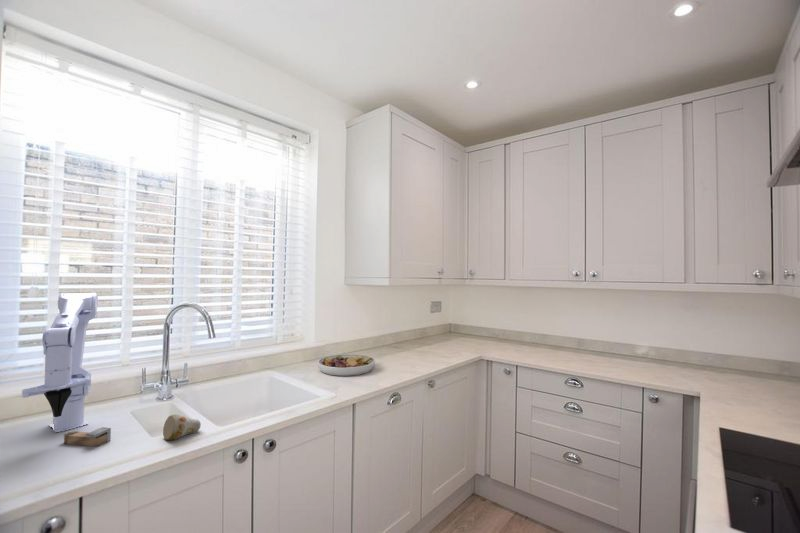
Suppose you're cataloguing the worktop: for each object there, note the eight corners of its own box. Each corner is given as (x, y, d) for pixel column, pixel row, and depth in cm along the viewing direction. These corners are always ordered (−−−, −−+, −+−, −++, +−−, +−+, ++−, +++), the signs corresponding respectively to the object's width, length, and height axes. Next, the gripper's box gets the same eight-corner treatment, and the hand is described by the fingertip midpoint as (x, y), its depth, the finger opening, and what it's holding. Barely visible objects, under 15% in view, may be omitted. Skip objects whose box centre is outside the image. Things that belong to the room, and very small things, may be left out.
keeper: (85, 447, 106) (86, 433, 106) (102, 440, 110) (102, 427, 111) (94, 448, 105) (94, 434, 105) (110, 441, 110) (110, 427, 110)
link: (61, 443, 108) (61, 433, 108) (71, 439, 111) (71, 428, 111) (97, 446, 106) (98, 435, 106) (107, 441, 109) (107, 431, 109)
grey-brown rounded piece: (207, 433, 117) (194, 411, 112) (174, 455, 111) (160, 433, 106) (198, 421, 122) (186, 399, 117) (167, 441, 116) (153, 420, 111)
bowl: (327, 362, 211) (327, 348, 211) (379, 364, 208) (379, 350, 208) (309, 376, 181) (309, 360, 181) (369, 379, 178) (369, 362, 179)
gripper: (26, 376, 99) (25, 427, 99) (94, 366, 111) (93, 411, 111) (20, 372, 103) (19, 421, 103) (86, 362, 115) (85, 406, 115)
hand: (57, 416), depth 107 cm, fingers closed
